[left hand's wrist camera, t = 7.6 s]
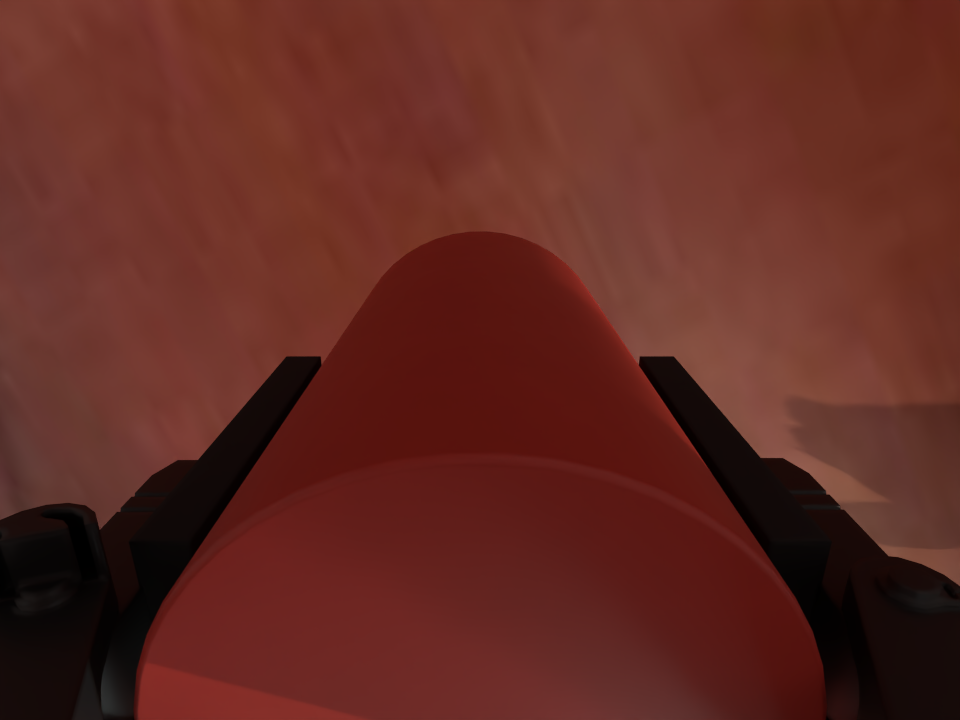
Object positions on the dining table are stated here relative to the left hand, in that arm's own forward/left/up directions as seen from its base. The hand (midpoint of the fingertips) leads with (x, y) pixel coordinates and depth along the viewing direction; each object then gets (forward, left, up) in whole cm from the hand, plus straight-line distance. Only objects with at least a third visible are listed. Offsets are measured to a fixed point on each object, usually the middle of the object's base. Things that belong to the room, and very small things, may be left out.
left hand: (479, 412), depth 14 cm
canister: (0, 0, -4) cm, 4 cm away
